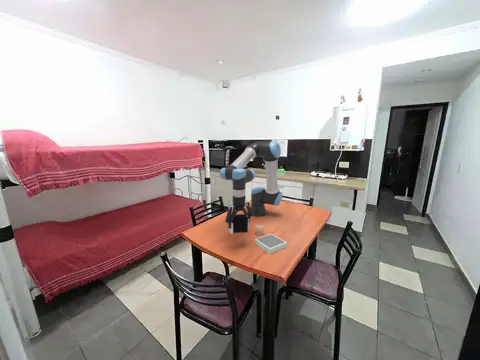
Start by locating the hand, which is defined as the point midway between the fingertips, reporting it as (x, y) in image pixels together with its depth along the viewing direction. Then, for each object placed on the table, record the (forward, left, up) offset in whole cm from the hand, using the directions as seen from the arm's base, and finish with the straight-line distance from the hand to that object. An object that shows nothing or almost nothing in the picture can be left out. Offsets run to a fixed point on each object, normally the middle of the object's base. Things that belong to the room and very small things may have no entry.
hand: (239, 230), depth 122 cm
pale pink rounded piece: (-7, +22, -11) cm, 25 cm away
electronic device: (0, 0, -1) cm, 1 cm away
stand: (+9, +18, -11) cm, 23 cm away
